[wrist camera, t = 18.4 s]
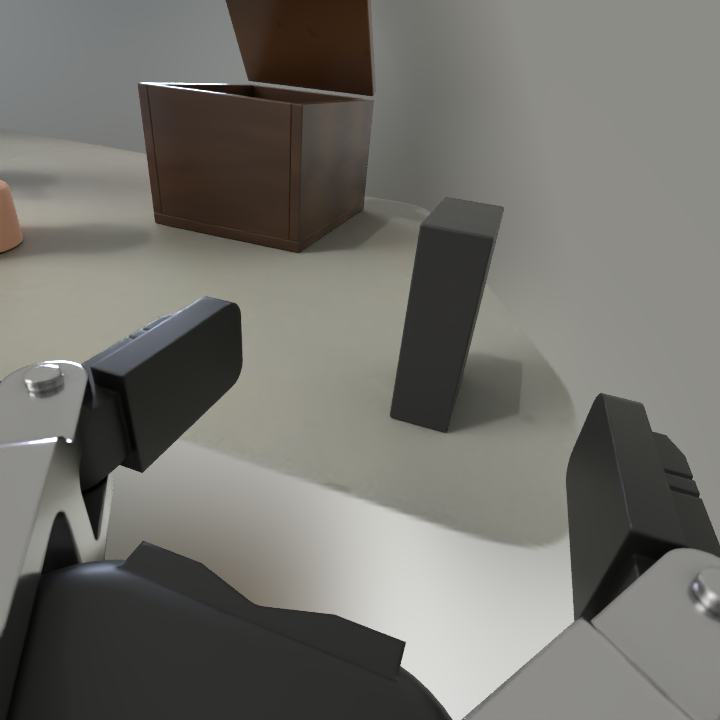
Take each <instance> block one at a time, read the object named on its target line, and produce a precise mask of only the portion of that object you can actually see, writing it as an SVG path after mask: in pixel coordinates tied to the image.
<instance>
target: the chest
mask: <svg viewBox="0 0 720 720" xmlns="http://www.w3.org/2000/svg"><path fill="white" fill-rule="evenodd" d="M138 90H139V98H140V105H141V114H142V122H143V129H144V137H145V145H146V153H147V161H148V168H149V176H150V184H151V192H152V200H153V208H154V212H155V213H154V217H155V223H159V224H164V225H169V226H173V227H178V228H183V229H188V230H192V231H197V232H202V233H207V234H212V235H216V236H221V237H226V238H231V239H235V240H240V241H245V242H250V243H255V244H259V245H264V246H269V247H274V248H278V249H283V250H288V251H293V252H298V253H299V252H300V251H302V250H303V249H305V248H306V247H308V246H309V245H311V244H312V243H314V242H315V241H316V240H318V239H319V238H321V237H322V236H324V235H325V234H327V233H328V232H330V231H331V230H333V229H334V228H336V227H337V226H339V225H340V224H342V223H343V222H345V221H346V220H348V219H349V218H351V217H352V216H354V215H355V214H357V213H358V212H360V211H361V210H363V208H364V196H365V185H366V175H367V165H368V155H369V144H370V134H371V123H372V113H373V103H374V100H372V99H363V98H356V97H348V96H340V95H332V94H323V93H315V92H308V91H300V90H292V89H284V88H276V87H268V86H259V85H252V84H196V83H194V84H193V83H192V84H191V83H138Z"/></svg>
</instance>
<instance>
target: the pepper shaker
mask: <svg viewBox="0 0 720 720" xmlns="http://www.w3.org/2000/svg"><path fill="white" fill-rule="evenodd" d="M22 241H23V235H22V232H21V228H20V224H19V221H18V217H17V214H16V210H15V206H14V203H13V199H12V195H11V192H10V188H9V186H8V184H7V183H6V182H4V181H2V180H0V252H4V251H7V250H9V249H11V248H13V247H15V246H17V245H19V244H20V243H21V242H22Z"/></svg>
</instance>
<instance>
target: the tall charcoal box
mask: <svg viewBox="0 0 720 720" xmlns="http://www.w3.org/2000/svg"><path fill="white" fill-rule="evenodd" d="M503 211H504V208H503V207H502V206H496V205H490V204H484V203H478V202H472V201H466V200H460V199H454V198H448V197H446V198H445V199H444V200H443V201H442V202H441V203H440V204H439V205H438V206H437V208H436V209H435V210H434V211H433V212H432V213H431V214H430V215H429V216H428V217H427V218H426V220H425V221H424V222H423V223H422V224H421V226H420V231H419V237H418V243H417V249H416V256H415V262H414V268H413V274H412V281H411V287H410V293H409V299H408V305H407V312H406V318H405V324H404V330H403V337H402V343H401V349H400V355H399V361H398V368H397V374H396V380H395V386H394V393H393V399H392V405H391V411H390V417H392V418H396V419H399V420H403V421H407V422H410V423H414V424H417V425H421V426H424V427H428V428H432V429H435V430H439V431H442V432H446V431H447V430H448V426H449V423H450V419H451V415H452V412H453V408H454V405H455V401H456V398H457V394H458V391H459V387H460V383H461V380H462V376H463V373H464V369H465V364H466V360H467V356H468V352H469V348H470V344H471V340H472V336H473V332H474V328H475V324H476V320H477V316H478V312H479V308H480V304H481V300H482V296H483V292H484V288H485V284H486V280H487V275H488V271H489V267H490V263H491V259H492V255H493V251H494V247H495V243H496V239H497V235H498V231H499V227H500V223H501V219H502V214H503Z"/></svg>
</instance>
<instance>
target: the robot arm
mask: <svg viewBox="0 0 720 720" xmlns="http://www.w3.org/2000/svg"><path fill="white" fill-rule="evenodd" d="M242 362H243V358H242V331H241V312H240V308H239V306H238V305H237V304H236V303H232V302H228V301H224V300H220V299H216V298H212V297H207V296H206V297H202V298H201V299H199V300H197V301H196V302H194V303H192V304H191V305H189V306H188V307H186V308H184V309H183V310H181V311H179V312H176V313H173V314H169V315H166V316H163V317H160V318H158V319H156V320H155V321H153V322H151V323H149V324H148V325H146V326H144V327H143V330H140V329H139V330H138V331H136V332H134V333H133V334H131V335H129V338H124V339H123V340H121V341H119V342H118V343H116V344H114V345H113V346H111V347H109V348H108V349H106V350H104V351H103V352H101V353H99V354H98V355H96V356H94V357H93V358H91V359H89V360H87V361H86V362H84V363H82V364H81V365H79V364H77V363H74V362H69V361H48V362H41V363H36V364H32V365H29V366H26V367H23V368H21V369H18V370H16V371H14V372H13V373H11V374H9V375H8V376H6V377H5V378H4V379H3V380H2V381H0V720H452V718H451V717H450V716H449V714H448V713H447V712H446V710H445V708H444V707H443V706H442V705H441V704H440V702H439V701H438V700H437V699H436V698H435V697H434V695H433V694H432V693H431V692H430V691H429V690H428V689H427V688H426V687H425V686H424V685H423V684H422V683H421V682H420V681H419V680H417V679H416V678H415V677H414V676H413V675H412V674H410V673H409V672H408V671H406V670H405V669H404V668H402V667H401V666H400V664H401V660H402V656H403V652H404V647H405V643H406V642H404V641H401V640H399V639H396V638H393V637H391V636H388V635H386V634H383V633H380V632H378V631H375V630H373V629H370V628H368V627H365V626H362V625H360V624H357V623H355V622H352V621H350V620H347V619H344V618H342V617H339V616H337V615H332V614H323V613H315V612H307V611H298V610H289V609H280V608H272V607H263V606H258V605H256V604H254V603H252V602H251V601H249V600H248V599H247V598H245V597H244V596H243V595H241V594H240V593H239V592H238V591H236V590H235V589H234V588H233V587H231V586H230V585H229V584H227V583H226V582H225V581H224V580H222V579H221V578H220V577H218V576H217V575H216V574H215V573H213V572H212V571H211V570H209V569H208V568H207V567H206V566H204V565H203V564H202V563H199V562H197V561H194V560H192V559H189V558H187V557H184V556H181V555H179V554H176V553H174V552H171V551H169V550H166V549H163V548H161V547H158V546H156V545H153V544H150V543H148V542H145V541H142V543H141V544H140V545H139V546H138V547H137V548H136V550H135V551H134V552H133V553H132V554H131V555H130V556H129V557H128V558H127V560H105V550H106V541H107V533H108V524H109V517H110V508H111V500H112V492H113V477H112V473H111V472H112V471H113V470H114V469H115V468H116V467H117V466H119V465H121V466H124V467H127V468H130V469H133V470H136V471H139V472H141V473H143V472H144V471H145V470H146V469H147V468H148V467H149V466H150V465H151V464H152V463H153V462H154V461H155V460H156V459H157V458H158V457H159V456H160V455H161V454H163V453H164V452H165V451H166V450H167V449H168V448H169V447H170V446H171V445H172V444H173V443H174V442H175V441H176V440H177V439H178V438H179V437H180V436H181V435H182V434H183V433H184V432H185V431H186V430H188V429H189V428H190V427H191V426H192V425H193V424H194V423H195V422H196V421H197V420H198V419H199V418H200V417H201V416H202V415H203V414H204V413H205V412H206V411H207V410H208V409H209V408H210V407H211V406H213V405H214V404H215V403H216V402H217V401H218V400H219V399H220V398H221V397H222V396H223V395H224V394H225V393H226V392H227V391H228V390H229V389H230V388H231V387H232V386H233V385H234V384H235V383H236V381H237V380H238V378H239V375H240V373H241V369H242ZM692 478H693V475H692V473H691V470H690V468H689V465H688V463H687V460H686V457H685V456H684V454H683V453H682V452H681V451H680V450H679V449H678V448H677V447H676V446H675V444H674V443H673V442H672V441H671V440H670V439H669V438H668V437H667V436H666V435H663V434H659V433H655V432H652V430H651V427H650V424H649V421H648V418H647V415H646V411H645V408H644V406H643V404H641V403H640V402H635V401H631V400H627V399H623V398H619V397H615V396H611V395H606V394H603V393H600V394H599V395H598V396H597V397H596V399H595V400H594V402H593V404H592V407H591V409H590V412H589V414H588V416H587V418H586V421H585V423H584V426H583V428H582V430H581V432H580V434H579V437H578V439H577V441H576V444H575V446H574V448H573V451H572V453H571V456H570V459H569V463H568V468H567V475H566V489H567V505H568V522H569V538H570V552H571V553H570V554H571V571H572V587H573V603H574V620H575V622H573V623H572V624H571V625H570V626H569V627H567V628H566V629H565V630H564V631H563V632H562V633H561V634H559V635H558V637H556V638H555V639H554V640H553V641H551V642H550V643H549V644H548V645H547V646H546V647H544V648H543V650H541V651H540V652H539V653H538V654H536V655H535V656H534V657H533V658H532V659H531V660H530V661H529V662H527V663H526V664H525V665H524V666H523V667H522V668H520V669H519V670H518V671H517V672H516V673H515V674H514V675H512V676H511V677H510V678H509V679H508V680H507V681H505V682H504V683H503V684H502V685H501V686H500V687H499V688H497V689H496V690H495V691H494V692H493V693H492V694H490V695H489V696H488V697H487V698H486V699H485V700H484V701H483V702H481V703H480V704H479V705H478V706H477V707H476V708H474V709H473V710H472V711H471V712H470V713H469V714H468V715H466V716H465V717H464V718H463V719H462V720H720V545H719V542H718V540H717V537H716V535H715V532H714V529H713V527H712V524H711V522H710V520H709V517H708V514H707V512H706V509H705V506H704V504H703V501H702V499H700V498H699V495H700V493H699V491H698V489H697V486H696V483H695V481H693V480H692Z"/></svg>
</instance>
